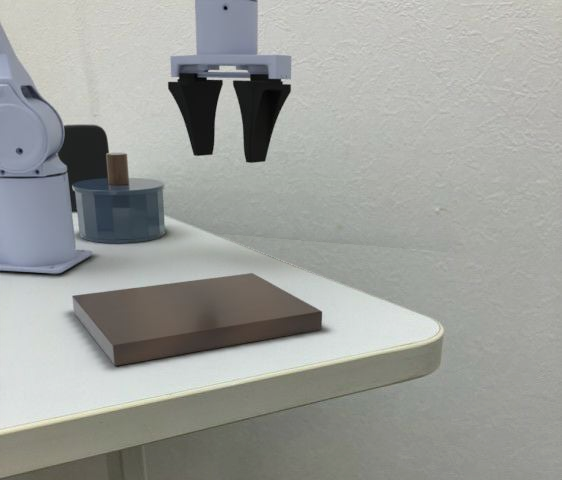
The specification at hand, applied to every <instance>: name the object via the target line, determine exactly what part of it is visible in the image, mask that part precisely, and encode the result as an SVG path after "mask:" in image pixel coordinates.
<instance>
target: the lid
mask: <svg viewBox="0 0 562 480" xmlns="http://www.w3.org/2000/svg"><path fill="white" fill-rule="evenodd" d="M106 162H107V174H108V178H102V179H91V180H84V181H79V182H76V183H74V184H73V185H72V189H73V190H74V191H75V192H79V193H84V194H92V195H136V194H146V193H153V192H157V191H161V190H163V191H164V189H165V187H166V186H165V183H164V181H161V180H157V179H151V178H140V177H130V174H129V162H128V153H126V152H109V153H107V154H106Z"/></svg>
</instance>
